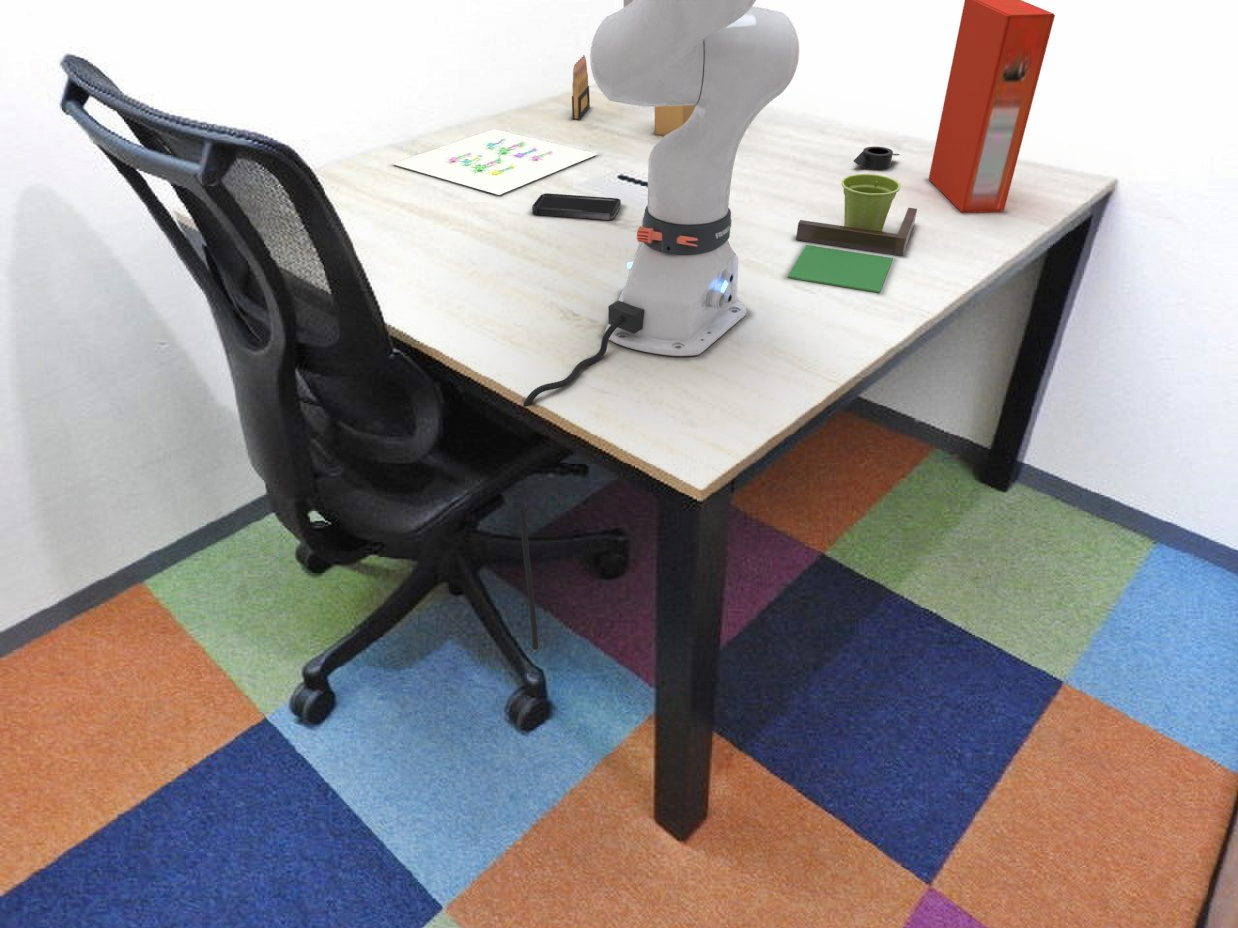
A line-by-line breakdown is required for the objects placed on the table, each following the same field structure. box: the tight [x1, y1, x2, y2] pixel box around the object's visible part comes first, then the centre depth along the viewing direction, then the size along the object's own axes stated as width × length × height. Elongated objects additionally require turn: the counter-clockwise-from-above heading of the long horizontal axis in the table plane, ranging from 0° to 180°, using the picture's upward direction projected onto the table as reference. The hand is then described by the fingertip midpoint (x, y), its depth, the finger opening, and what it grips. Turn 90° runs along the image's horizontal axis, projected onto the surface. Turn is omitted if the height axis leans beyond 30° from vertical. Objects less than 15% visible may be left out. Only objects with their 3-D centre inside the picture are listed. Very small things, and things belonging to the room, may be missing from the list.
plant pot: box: [841, 173, 901, 232], centre depth 145 cm, size 9×9×9 cm
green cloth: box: [787, 244, 893, 294], centre depth 136 cm, size 13×14×1 cm
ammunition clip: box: [571, 54, 591, 121], centre depth 203 cm, size 11×2×12 cm, turn 169°
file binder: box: [928, 0, 1056, 214], centre depth 152 cm, size 8×17×32 cm, turn 3°
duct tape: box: [853, 146, 901, 171], centre depth 175 cm, size 8×10×3 cm
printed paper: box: [392, 128, 598, 196], centre depth 178 cm, size 30×30×2 cm
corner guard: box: [795, 207, 918, 257], centre depth 147 cm, size 14×18×3 cm
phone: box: [531, 192, 622, 221], centre depth 156 cm, size 8×1×15 cm
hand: (657, 10), depth 134 cm, fingers closed
